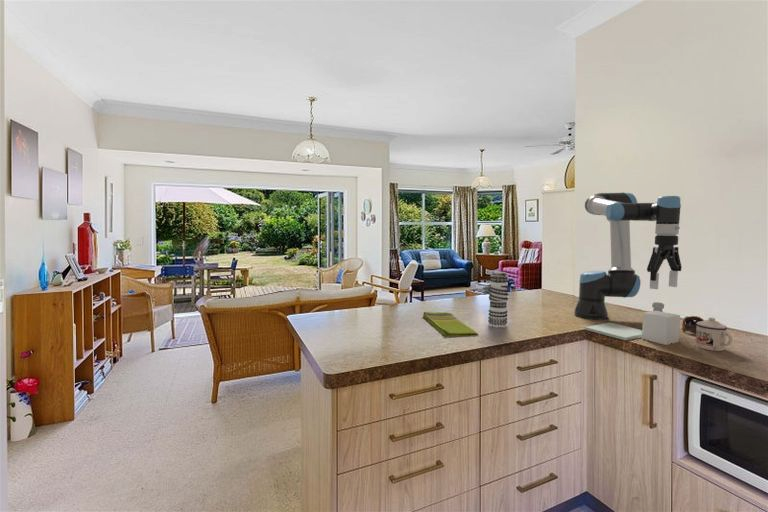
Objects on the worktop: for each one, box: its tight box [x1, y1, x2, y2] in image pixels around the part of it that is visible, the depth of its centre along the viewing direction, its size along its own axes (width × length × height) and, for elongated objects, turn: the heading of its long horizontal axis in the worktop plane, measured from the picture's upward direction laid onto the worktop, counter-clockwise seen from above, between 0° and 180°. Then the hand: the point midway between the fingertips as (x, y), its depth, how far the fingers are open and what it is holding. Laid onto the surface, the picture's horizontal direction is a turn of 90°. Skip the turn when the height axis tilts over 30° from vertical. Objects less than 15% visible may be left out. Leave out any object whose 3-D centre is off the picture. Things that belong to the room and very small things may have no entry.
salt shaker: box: [652, 301, 665, 312], centre depth 168 cm, size 6×6×13 cm
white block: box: [641, 310, 681, 346], centre depth 155 cm, size 9×9×11 cm
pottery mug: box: [681, 315, 704, 333], centre depth 168 cm, size 12×10×8 cm
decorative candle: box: [487, 271, 510, 328], centre depth 177 cm, size 9×9×25 cm
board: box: [584, 322, 642, 341], centre depth 167 cm, size 18×18×1 cm
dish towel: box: [422, 311, 479, 338], centre depth 178 cm, size 15×36×3 cm, turn 9°
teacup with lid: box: [695, 317, 734, 352], centre depth 145 cm, size 12×9×12 cm
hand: (663, 287), depth 154 cm, fingers open, 13 cm apart
